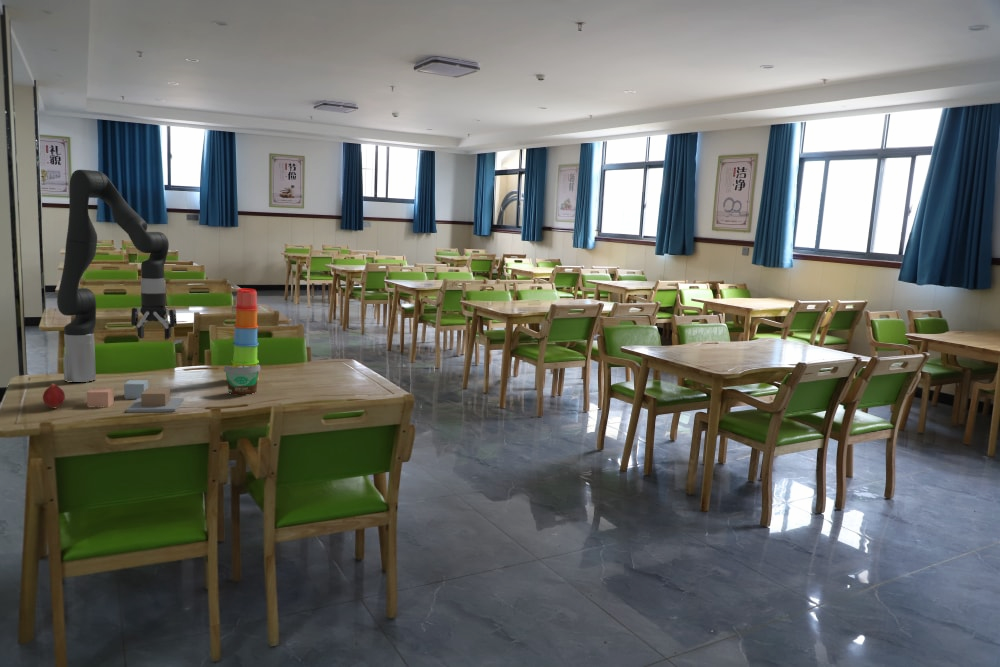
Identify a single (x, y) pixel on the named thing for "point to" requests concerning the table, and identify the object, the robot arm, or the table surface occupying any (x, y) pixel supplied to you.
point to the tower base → (155, 408)
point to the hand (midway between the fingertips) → (154, 338)
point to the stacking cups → (246, 329)
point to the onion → (53, 396)
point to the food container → (242, 379)
